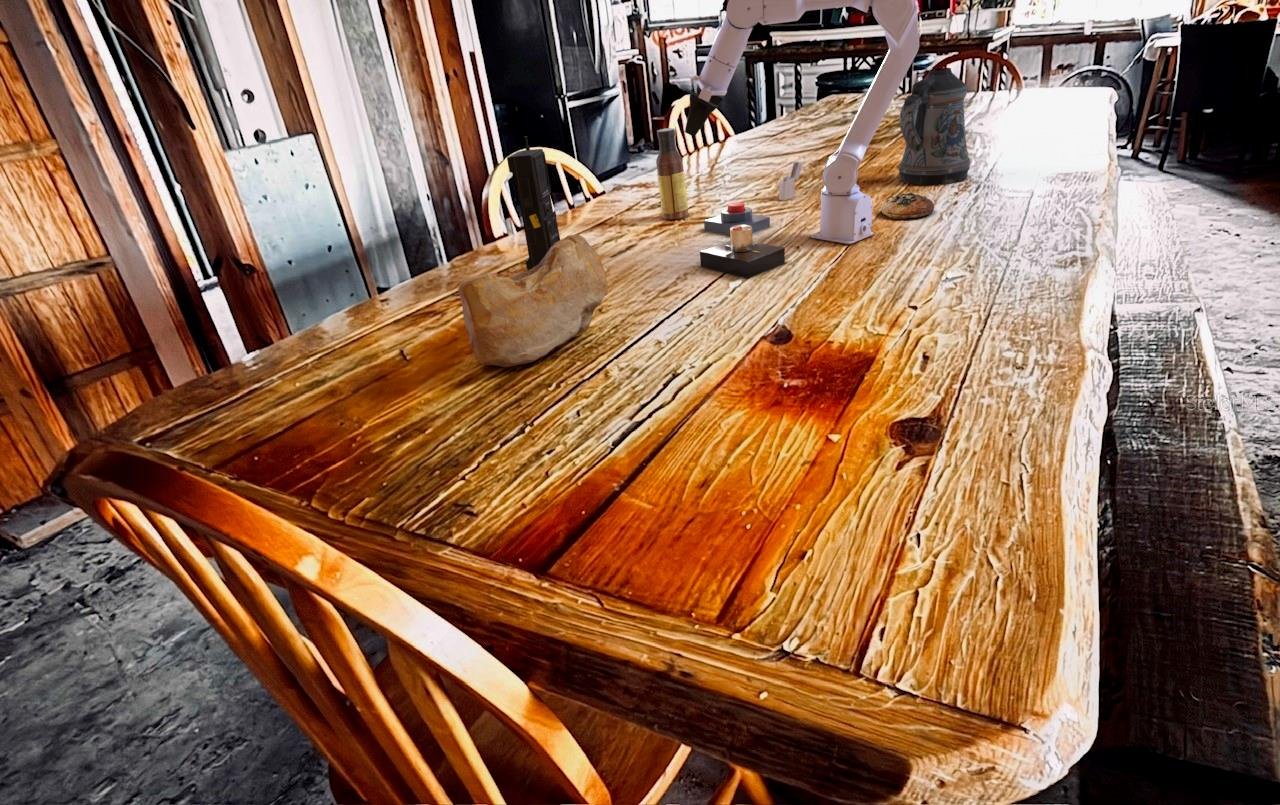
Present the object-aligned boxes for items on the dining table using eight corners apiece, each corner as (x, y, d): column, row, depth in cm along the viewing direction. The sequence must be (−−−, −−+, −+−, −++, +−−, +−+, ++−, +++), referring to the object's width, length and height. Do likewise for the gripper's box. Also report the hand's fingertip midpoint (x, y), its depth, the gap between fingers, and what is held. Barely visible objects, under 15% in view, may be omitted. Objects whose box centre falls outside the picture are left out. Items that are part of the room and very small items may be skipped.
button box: (770, 227, 152) (769, 208, 150) (741, 237, 147) (741, 218, 145) (732, 220, 160) (731, 202, 158) (704, 230, 155) (703, 212, 153)
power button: (748, 211, 151) (748, 203, 151) (736, 215, 150) (736, 206, 149) (735, 209, 154) (735, 201, 153) (724, 213, 152) (724, 205, 151)
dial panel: (784, 263, 130) (784, 246, 128) (748, 278, 124) (747, 261, 123) (736, 253, 138) (736, 237, 137) (700, 266, 133) (699, 250, 131)
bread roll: (946, 212, 148) (945, 188, 145) (903, 229, 145) (901, 205, 143) (910, 204, 157) (908, 182, 155) (868, 220, 155) (866, 198, 153)
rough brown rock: (568, 311, 121) (548, 224, 114) (627, 326, 108) (608, 230, 102) (446, 361, 109) (416, 268, 103) (496, 384, 97) (466, 280, 90)
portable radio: (555, 278, 135) (533, 141, 124) (526, 278, 137) (501, 143, 125) (566, 265, 142) (547, 134, 130) (538, 266, 143) (516, 136, 132)
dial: (741, 244, 132) (740, 221, 130) (757, 248, 129) (756, 224, 127) (726, 250, 130) (725, 227, 128) (742, 253, 127) (741, 230, 125)
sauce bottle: (688, 213, 170) (683, 125, 160) (687, 219, 164) (682, 129, 155) (661, 215, 171) (654, 128, 161) (660, 221, 165) (652, 132, 156)
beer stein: (974, 171, 179) (987, 62, 167) (959, 189, 165) (972, 71, 153) (906, 170, 187) (914, 67, 175) (887, 187, 173) (894, 76, 161)
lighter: (784, 200, 171) (784, 166, 168) (778, 199, 173) (778, 166, 169) (802, 194, 175) (802, 161, 172) (796, 193, 176) (797, 160, 173)
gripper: (708, 47, 138) (680, 115, 145) (697, 55, 125) (667, 128, 133) (741, 63, 138) (711, 130, 145) (733, 72, 126) (701, 144, 133)
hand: (692, 130), depth 139 cm, fingers open, 7 cm apart
